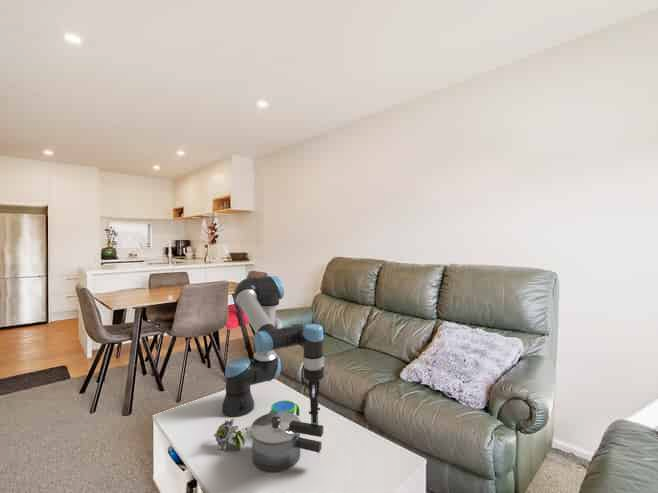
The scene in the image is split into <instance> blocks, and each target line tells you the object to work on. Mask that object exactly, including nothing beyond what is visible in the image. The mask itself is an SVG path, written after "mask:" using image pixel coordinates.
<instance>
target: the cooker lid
mask: <svg viewBox="0 0 658 493" xmlns="http://www.w3.org/2000/svg"><path fill="white" fill-rule="evenodd" d="M299 433H300V435H307V436H313V437H319V438H322V437H323V435H324V425H322V424H318V425H316V424H311V422H310V423H309V422H305V421H304V422H303V421H301V419H300V418H299V416H297V415H296V414H294V415H293V414H291V413H286V412H274V413H269V412H268V413H265V414H263V415H261V416H259V417H258V418H256V419H255V420H254V421H253V422H252V424H251V425H250V435H251V439H252V438H253V439H254V440H255V441H257V442H259V443H262V444H267V445H276V444H282V443H286V442H288V441H291V440H292V439H294V438H295V437H297V436H298V434H299Z"/></svg>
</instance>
